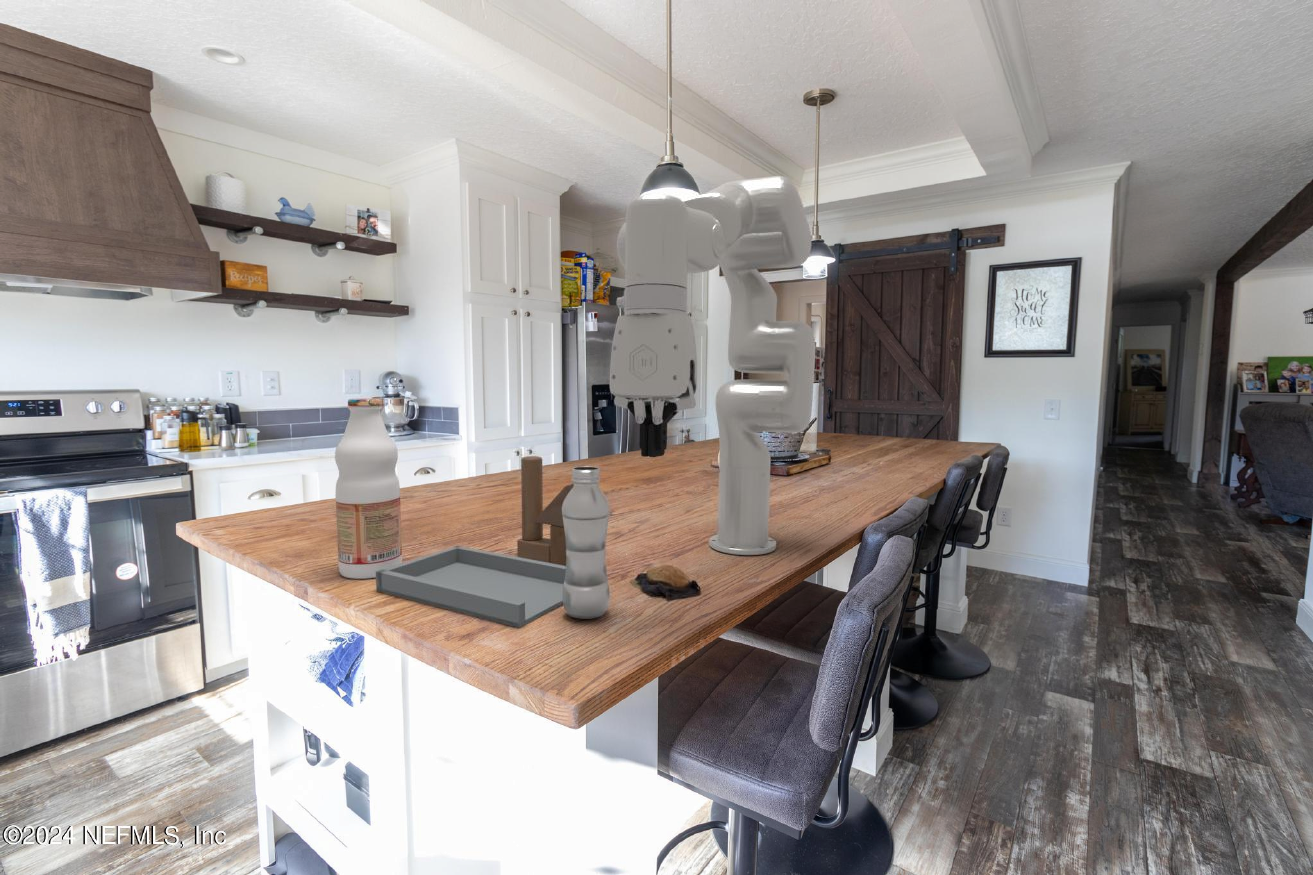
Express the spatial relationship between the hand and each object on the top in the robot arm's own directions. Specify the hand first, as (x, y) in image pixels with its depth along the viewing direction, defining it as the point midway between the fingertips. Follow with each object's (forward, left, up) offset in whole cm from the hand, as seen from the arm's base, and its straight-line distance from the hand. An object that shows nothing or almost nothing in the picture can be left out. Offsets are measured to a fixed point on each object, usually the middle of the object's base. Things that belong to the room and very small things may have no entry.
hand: (652, 455), depth 75 cm
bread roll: (-15, -6, -23) cm, 28 cm away
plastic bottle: (0, -10, -23) cm, 25 cm away
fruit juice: (+2, -51, -23) cm, 56 cm away
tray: (0, -29, -22) cm, 36 cm away
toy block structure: (-16, -29, -23) cm, 40 cm away
